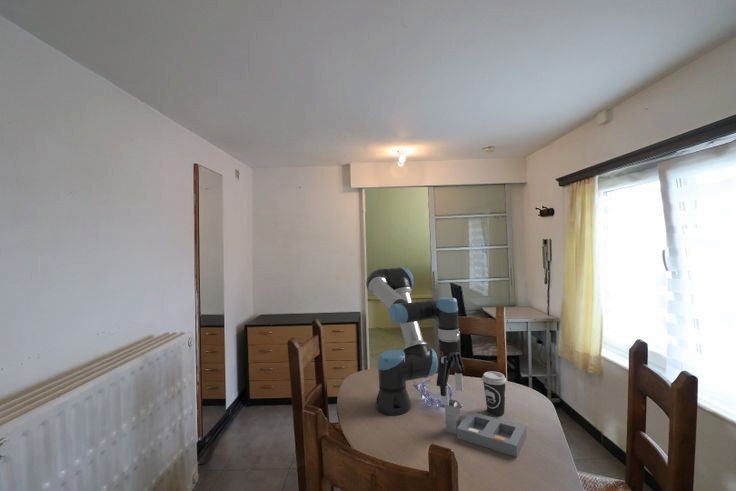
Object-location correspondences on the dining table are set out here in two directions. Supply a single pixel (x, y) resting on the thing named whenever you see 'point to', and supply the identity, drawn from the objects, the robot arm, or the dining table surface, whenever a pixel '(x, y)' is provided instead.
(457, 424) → the plug
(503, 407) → the coffee cup
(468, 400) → the dining table surface
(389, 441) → the dining table surface
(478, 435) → the socket board
